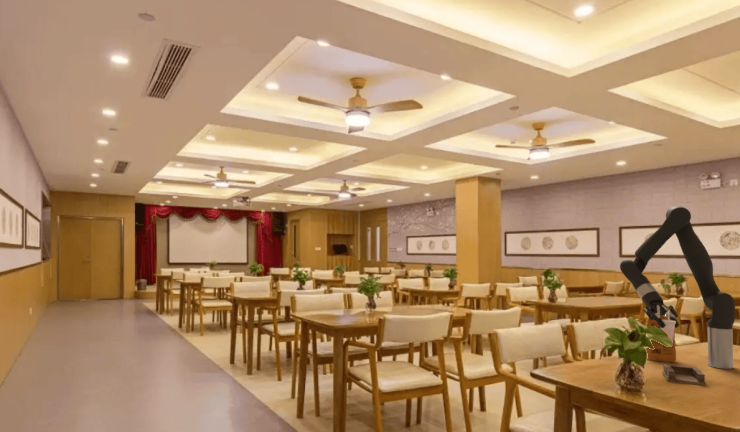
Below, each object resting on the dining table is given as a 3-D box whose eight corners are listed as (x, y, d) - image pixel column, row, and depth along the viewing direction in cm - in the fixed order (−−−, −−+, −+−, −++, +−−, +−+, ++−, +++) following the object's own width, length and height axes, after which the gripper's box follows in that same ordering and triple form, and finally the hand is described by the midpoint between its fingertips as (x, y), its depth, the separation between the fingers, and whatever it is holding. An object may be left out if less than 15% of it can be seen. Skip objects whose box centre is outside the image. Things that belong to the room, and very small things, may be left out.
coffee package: (646, 355, 244) (645, 310, 245) (676, 359, 237) (675, 312, 238) (645, 359, 235) (644, 312, 236) (676, 363, 229) (675, 315, 230)
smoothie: (678, 345, 213) (678, 311, 213) (662, 344, 214) (661, 311, 215) (673, 342, 219) (672, 309, 220) (656, 341, 221) (656, 309, 221)
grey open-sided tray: (662, 373, 211) (662, 363, 211) (698, 377, 206) (698, 367, 207) (667, 381, 199) (667, 371, 199) (706, 385, 194) (706, 375, 195)
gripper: (640, 290, 223) (661, 322, 211) (667, 290, 226) (689, 321, 214) (631, 301, 228) (651, 332, 216) (658, 300, 231) (679, 331, 219)
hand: (670, 326), depth 215 cm, fingers closed on smoothie, 6 cm apart
